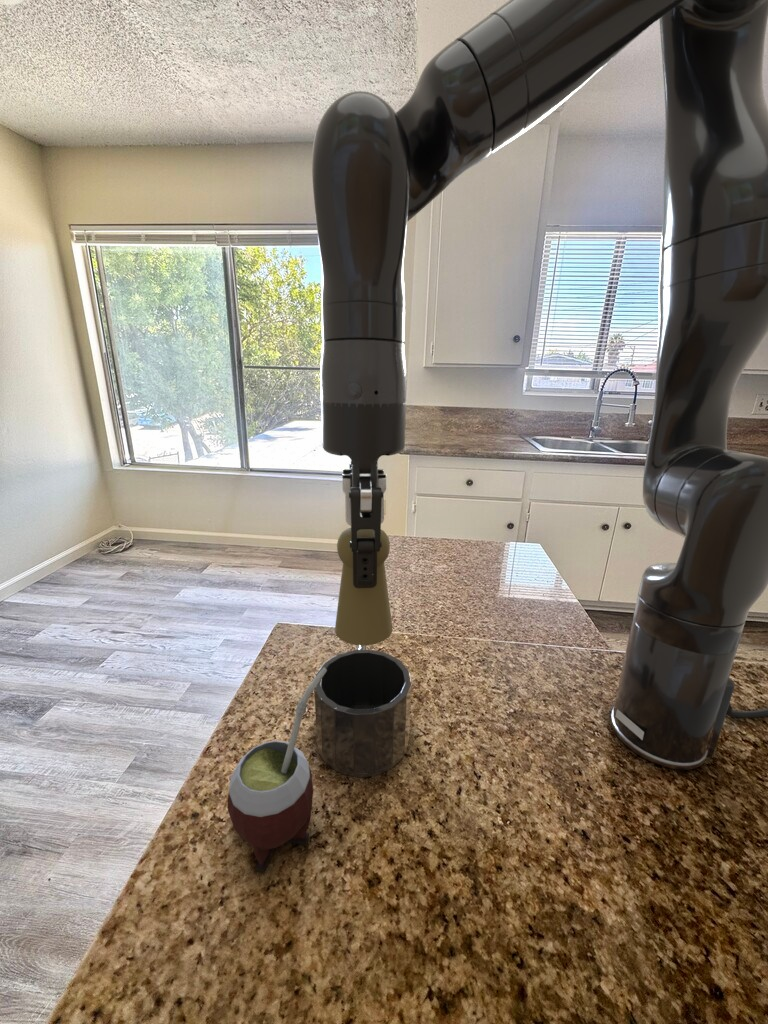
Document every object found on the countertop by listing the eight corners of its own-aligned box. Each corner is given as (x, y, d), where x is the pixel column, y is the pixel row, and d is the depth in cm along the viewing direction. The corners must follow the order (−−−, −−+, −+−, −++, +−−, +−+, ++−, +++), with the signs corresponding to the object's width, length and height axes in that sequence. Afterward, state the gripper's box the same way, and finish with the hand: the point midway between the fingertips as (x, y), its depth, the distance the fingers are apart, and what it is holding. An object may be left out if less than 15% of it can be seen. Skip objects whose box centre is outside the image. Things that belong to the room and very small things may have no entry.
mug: (414, 774, 43) (417, 711, 41) (313, 780, 43) (310, 716, 40) (399, 682, 57) (401, 631, 54) (322, 685, 56) (320, 633, 54)
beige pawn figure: (386, 649, 40) (388, 543, 37) (326, 641, 42) (323, 537, 38) (397, 616, 46) (399, 522, 43) (344, 610, 47) (342, 517, 44)
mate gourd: (217, 869, 35) (196, 723, 30) (260, 784, 42) (248, 656, 38) (303, 887, 34) (294, 738, 29) (331, 796, 41) (327, 666, 37)
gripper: (417, 401, 31) (410, 608, 35) (397, 396, 44) (394, 546, 49) (314, 400, 30) (321, 611, 35) (325, 395, 44) (329, 547, 49)
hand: (363, 572), depth 42 cm, fingers closed on beige pawn figure, 5 cm apart
